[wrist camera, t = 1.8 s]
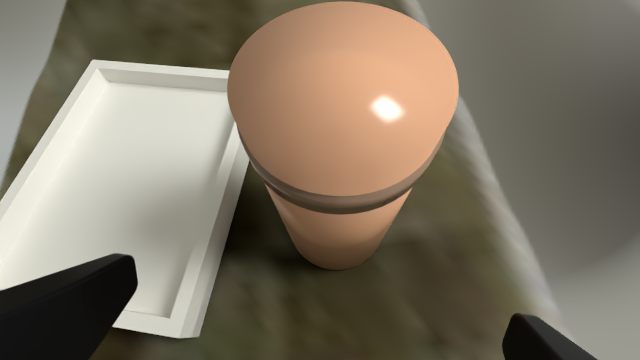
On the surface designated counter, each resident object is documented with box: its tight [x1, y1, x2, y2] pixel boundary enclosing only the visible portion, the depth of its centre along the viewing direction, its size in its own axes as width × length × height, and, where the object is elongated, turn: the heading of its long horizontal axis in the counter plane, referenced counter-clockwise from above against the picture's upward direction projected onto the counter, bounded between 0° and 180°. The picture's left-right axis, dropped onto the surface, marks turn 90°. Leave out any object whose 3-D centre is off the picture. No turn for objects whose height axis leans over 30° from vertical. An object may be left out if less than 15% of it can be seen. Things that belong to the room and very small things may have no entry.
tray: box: [0, 60, 249, 338], centre depth 21 cm, size 18×14×2 cm
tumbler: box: [227, 2, 459, 270], centre depth 14 cm, size 7×7×13 cm
